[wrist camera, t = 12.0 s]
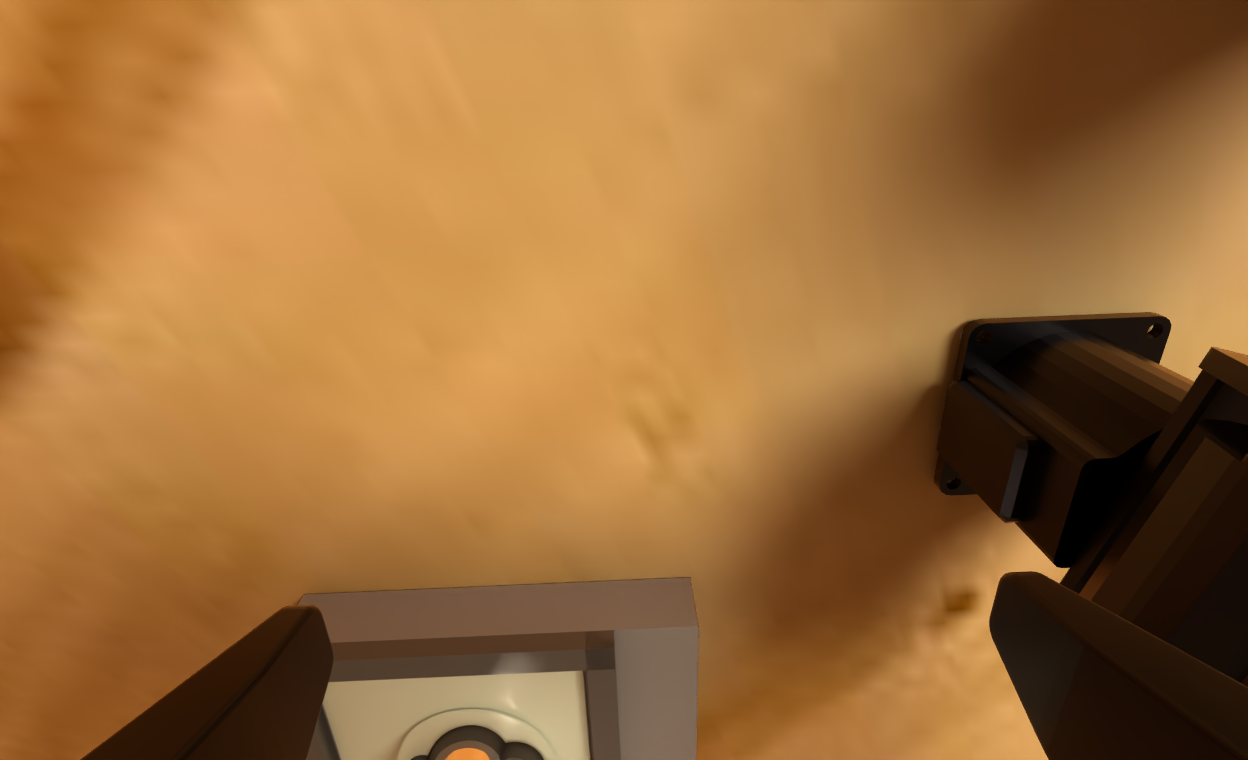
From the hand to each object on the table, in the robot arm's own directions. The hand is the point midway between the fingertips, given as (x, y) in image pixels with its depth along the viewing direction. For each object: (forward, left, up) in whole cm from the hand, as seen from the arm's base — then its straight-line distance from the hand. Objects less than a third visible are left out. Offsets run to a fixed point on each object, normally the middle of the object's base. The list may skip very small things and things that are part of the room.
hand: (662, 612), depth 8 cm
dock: (+5, +16, -13) cm, 22 cm away
